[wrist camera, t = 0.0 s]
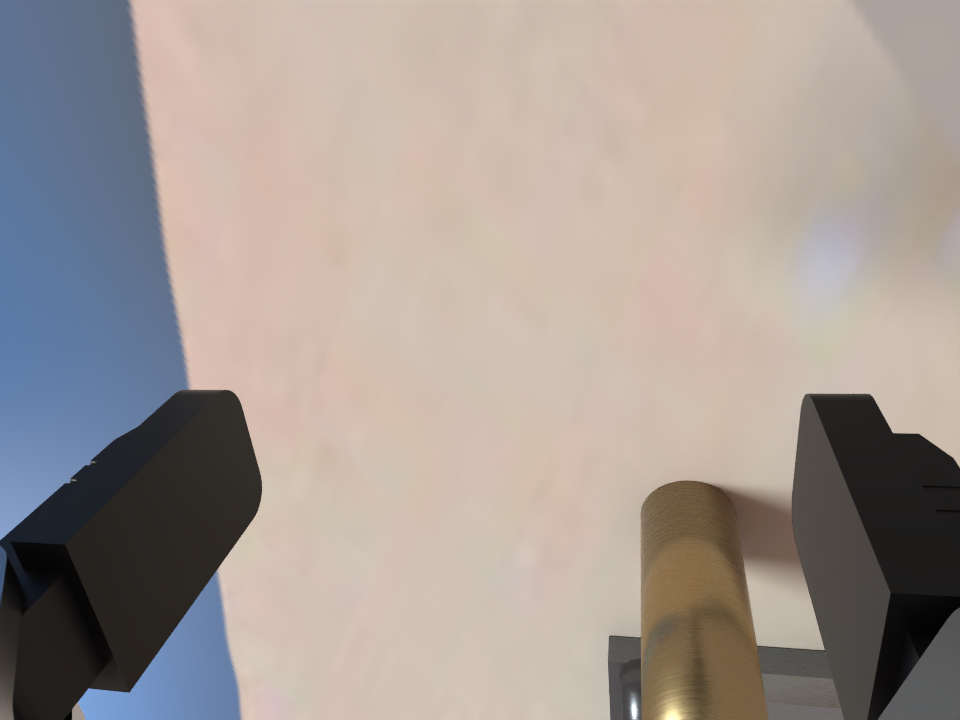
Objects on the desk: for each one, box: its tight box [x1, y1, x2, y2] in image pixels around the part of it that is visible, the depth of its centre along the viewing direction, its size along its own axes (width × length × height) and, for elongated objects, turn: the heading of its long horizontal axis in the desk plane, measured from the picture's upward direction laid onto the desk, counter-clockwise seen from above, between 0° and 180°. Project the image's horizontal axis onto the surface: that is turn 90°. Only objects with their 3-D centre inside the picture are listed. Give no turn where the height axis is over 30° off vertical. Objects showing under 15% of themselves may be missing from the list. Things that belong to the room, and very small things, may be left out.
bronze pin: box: [641, 481, 769, 720], centre depth 28 cm, size 4×4×11 cm
